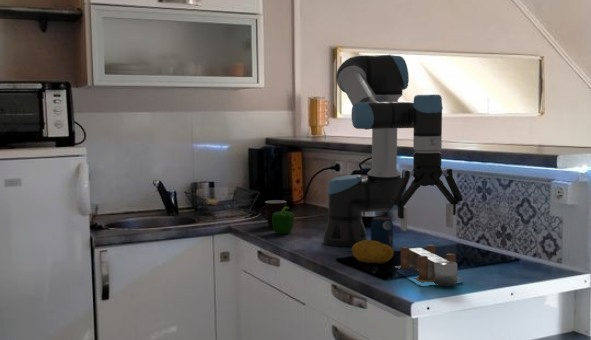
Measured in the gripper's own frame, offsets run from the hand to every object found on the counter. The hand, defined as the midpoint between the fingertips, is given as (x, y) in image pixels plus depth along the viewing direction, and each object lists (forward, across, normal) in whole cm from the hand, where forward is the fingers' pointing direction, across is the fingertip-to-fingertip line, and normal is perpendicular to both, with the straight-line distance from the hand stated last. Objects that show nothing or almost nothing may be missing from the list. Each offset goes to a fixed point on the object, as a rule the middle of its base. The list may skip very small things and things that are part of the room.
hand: (426, 228), depth 177 cm
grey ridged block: (+12, 0, -3) cm, 13 cm away
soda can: (+14, -2, +28) cm, 32 cm away
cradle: (+13, 0, -1) cm, 13 cm away
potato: (+14, -9, +18) cm, 25 cm away
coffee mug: (+16, -25, +89) cm, 94 cm away
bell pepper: (+15, -24, +74) cm, 80 cm away
